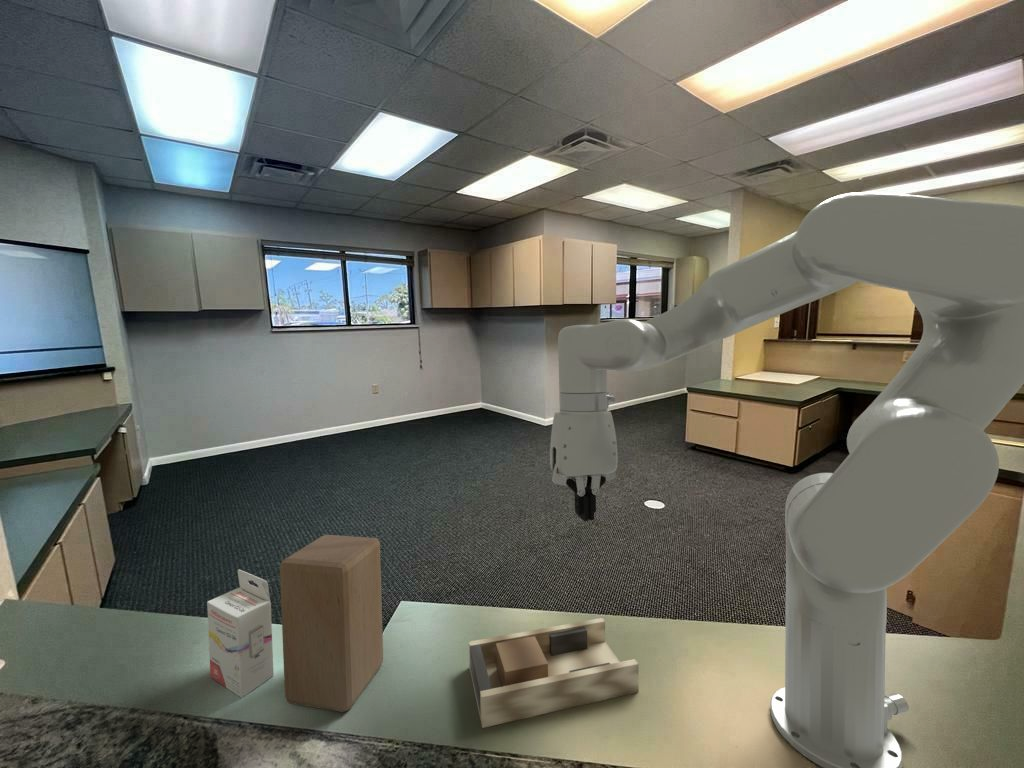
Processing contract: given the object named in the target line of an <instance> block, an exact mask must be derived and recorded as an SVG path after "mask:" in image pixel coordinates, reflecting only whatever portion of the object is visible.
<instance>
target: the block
mask: <svg viewBox="0 0 1024 768" xmlns="http://www.w3.org/2000/svg"><path fill="white" fill-rule="evenodd" d="M381 566H382V565H381V542H380V540H379V538H376V537H362V536H350V535H340V534H339V535H338V534H337V535H335V534H324V535H322V536H320V537H319V538H317V539H315V540H313V541H312V542H310V543H308V544H307V545H305V546H303V547H302V548H300V549H299V550H297V551H296V552H294V553H293V554H291V555H288V556H287V557H286V558H284V559H283V560H282V561H281V563H280V566H279V579H280V580H279V581H280V601H281V602H280V603H281V607H280V608H281V630H282V631H281V632H282V654H283V656H282V657H283V683H284V684H283V685H284V698H285V700H286V702H288V703H289V704H294V705H298V706H306V707H311V708H318V709H323V710H328V711H336V712H341V713H344V712H348V710H350V709H351V708H352V707H353V705H354V704H355V703H356V701H357V700H358V699H359V697H360V696H361V694H362V693H363V692H364V690H365V689H366V687H367V686H368V685H369V684H370V682H371V681H372V679H373V678H374V676H375V675H376V674H377V672H378V671H379V670H380V668H381V667H382V664H383V662H384V639H383V638H384V636H383V635H384V634H383V611H382V610H383V608H382V607H383V606H382V604H383V603H382V579H381V578H382V573H381V572H382V571H381V568H382V567H381Z"/></svg>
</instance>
